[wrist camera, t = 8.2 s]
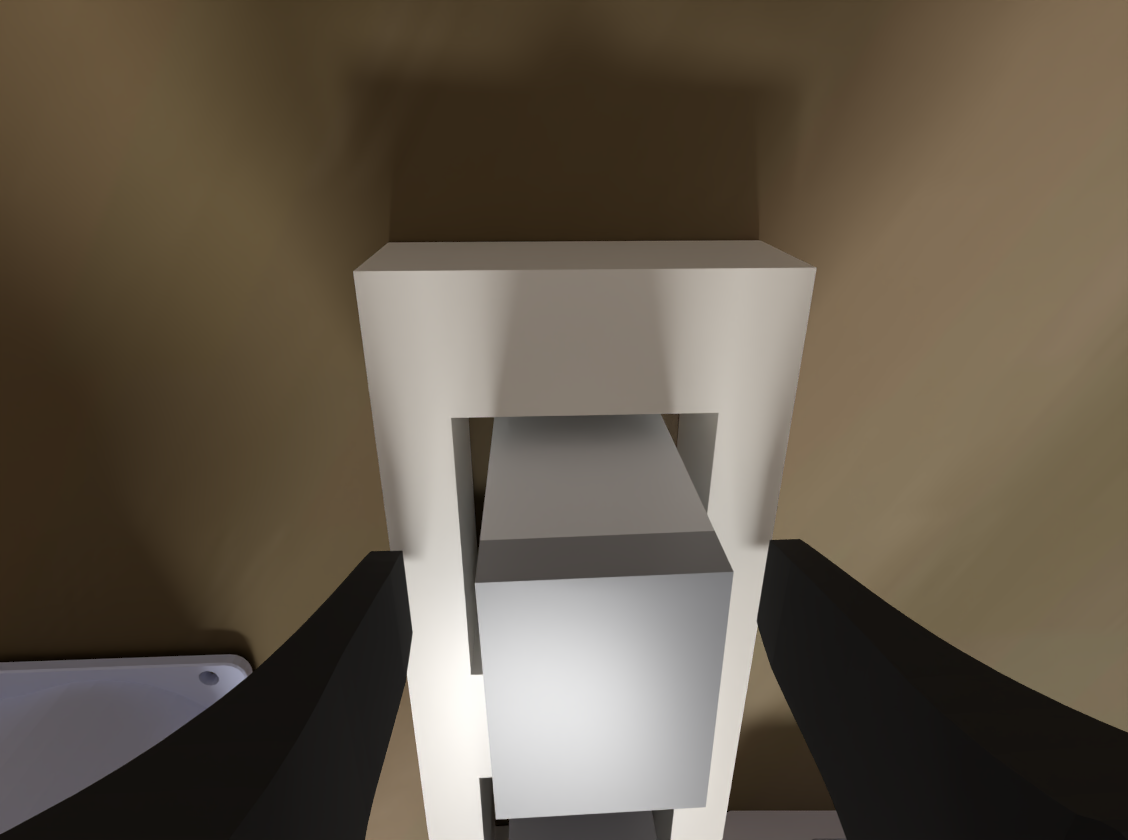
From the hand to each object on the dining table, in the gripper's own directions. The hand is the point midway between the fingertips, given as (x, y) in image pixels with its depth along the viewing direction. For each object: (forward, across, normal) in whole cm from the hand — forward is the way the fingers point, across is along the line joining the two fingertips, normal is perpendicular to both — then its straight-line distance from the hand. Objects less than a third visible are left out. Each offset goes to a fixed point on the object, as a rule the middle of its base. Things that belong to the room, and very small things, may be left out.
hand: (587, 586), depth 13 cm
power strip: (+4, 0, +5) cm, 6 cm away
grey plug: (+4, 0, 0) cm, 4 cm away
